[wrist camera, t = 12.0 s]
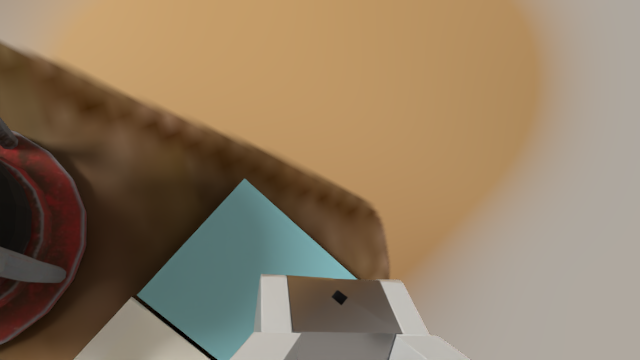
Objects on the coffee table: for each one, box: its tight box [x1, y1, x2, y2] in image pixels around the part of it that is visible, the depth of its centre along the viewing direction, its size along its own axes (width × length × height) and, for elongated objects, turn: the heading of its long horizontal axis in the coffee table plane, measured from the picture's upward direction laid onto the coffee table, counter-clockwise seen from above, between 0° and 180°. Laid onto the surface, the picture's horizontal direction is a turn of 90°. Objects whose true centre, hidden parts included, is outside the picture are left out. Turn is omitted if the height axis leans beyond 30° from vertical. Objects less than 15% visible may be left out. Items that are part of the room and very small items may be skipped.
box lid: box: [137, 178, 356, 360], centre depth 34 cm, size 2×17×12 cm
